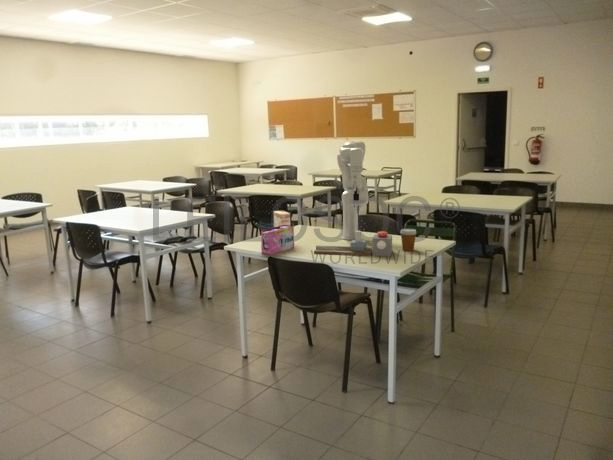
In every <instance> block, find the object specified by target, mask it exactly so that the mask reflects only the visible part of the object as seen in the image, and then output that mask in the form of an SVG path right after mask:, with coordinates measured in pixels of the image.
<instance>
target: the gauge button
mask: <svg viewBox="0 0 613 460" xmlns="http://www.w3.org/2000/svg"><path fill="white" fill-rule="evenodd" d="M377 234H378V236H379V237H384V238H386V236H387V235H389V233H388V231H383V230H382V231H377Z"/></svg>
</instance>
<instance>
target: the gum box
mask: <svg viewBox="0 0 613 460" xmlns="http://www.w3.org/2000/svg"><path fill="white" fill-rule="evenodd" d="M294 229H295V226H294V225H291V224H290V225H282V226H278V227H274V226H273V227H271V228H266V229H262V230H261V231H260V234H261V235H260V236H261V237H260V240H261V241H260V243H261V246H260V247H261V254H262V253H263V254H267V255H273V254H277V253H279V252H283V251H287V250H291V249H294V248H295V231H294Z"/></svg>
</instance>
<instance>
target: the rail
mask: <svg viewBox="0 0 613 460" xmlns="http://www.w3.org/2000/svg"><path fill="white" fill-rule="evenodd" d="M313 254H315V255H316V254H317V255H339V254H347V255H346V256H372V255H373V246H366V247H365V251H351V248H350V245H349V246H348V245H322V244H321V245H320V244H317V245H315V249H314V251H313Z"/></svg>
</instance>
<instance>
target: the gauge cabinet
mask: <svg viewBox="0 0 613 460" xmlns="http://www.w3.org/2000/svg"><path fill="white" fill-rule="evenodd" d="M372 248H373V252H372V256H373V257H391V256H392V253H393V234H388V235H387V236H386V238H384V237H379V236H378V233H376V234H374V235H373V237H372Z"/></svg>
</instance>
